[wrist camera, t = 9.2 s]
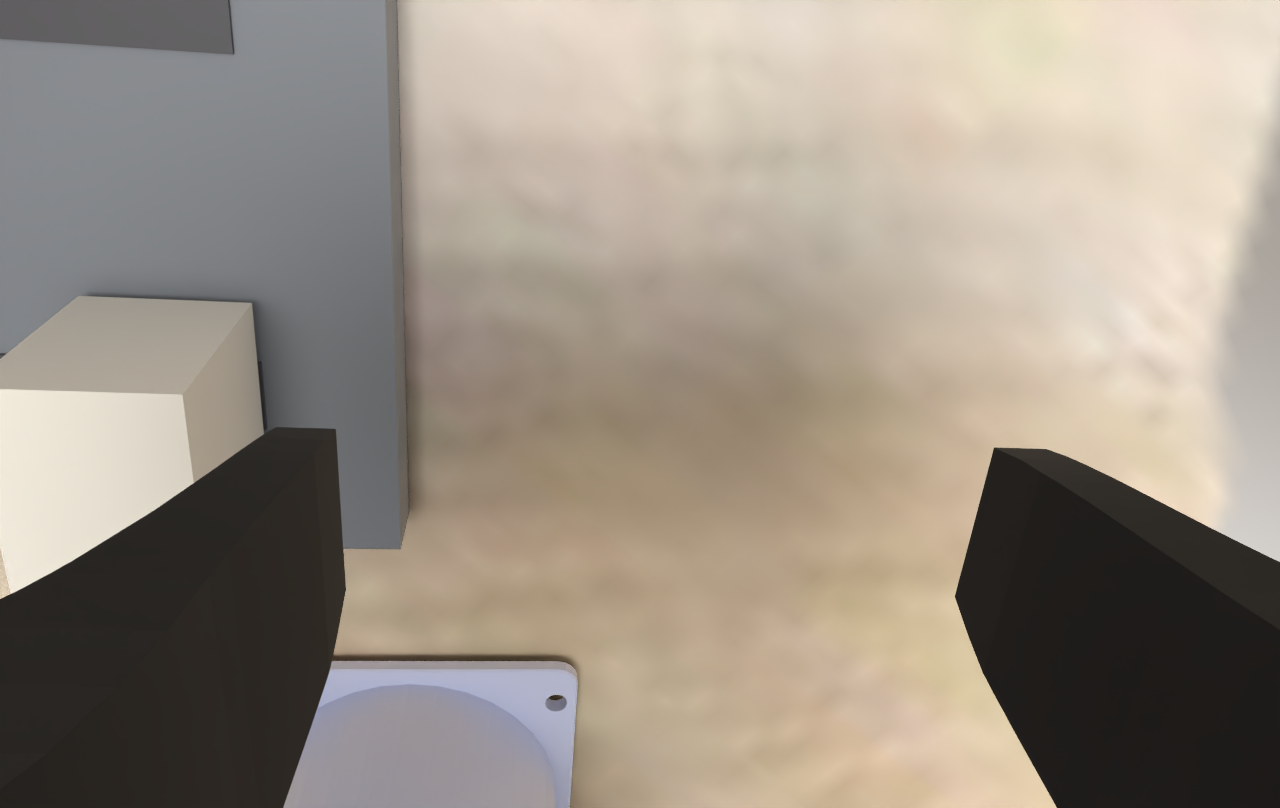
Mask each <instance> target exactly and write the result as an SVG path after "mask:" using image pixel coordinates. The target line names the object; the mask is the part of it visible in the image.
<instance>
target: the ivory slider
mask: <svg viewBox="0 0 1280 808" xmlns="http://www.w3.org/2000/svg"><path fill="white" fill-rule="evenodd" d="M263 434H264V430H263V419H262V408H261V397H260V386H259V375H258V364H257V353H256V342H255V331H254V320H253V309H252V303H243V302H218V301H194V300H169V299H144V298H119V297H95V296H78V297H76V298H75V299H74V300H73V301H71V302H70V303H69V304H68V305H66V306H65V307H64V308H63V309H61V310H60V311H59V312H58V313H56V314H55V315H54V316H53V317H52V318H50V319H49V320H48V321H47V322H45V323H44V324H43V325H42V326H40V327H39V328H38V329H37V330H35V331H34V332H33V333H32V334H30V335H29V336H28V337H27V338H25V339H24V340H23V341H22V342H21V343H19V344H18V345H17V346H16V347H14V348H13V349H12V350H11V351H9V352H8V353H7V354H6V355H4V356H3V357H2V358H1V359H0V549H1V553H2V557H3V562H4V566H5V571H6V575H7V579H8V584H9V588H10V593H11V594H12V593H14V592H16V591H18V590H20V589H22V588H24V587H26V586H27V585H29V584H31V583H33V582H35V581H37V580H39V579H40V578H42V577H44V576H46V575H48V574H50V573H52V572H53V571H55V570H57V569H59V568H60V567H62V566H64V565H66V564H68V563H69V562H71V561H73V560H75V559H76V558H78V557H79V556H81V555H83V554H84V553H86V552H87V551H89V550H91V549H92V548H94V547H96V546H97V545H99V544H100V543H102V542H104V541H105V540H107V539H109V538H110V537H112V536H113V535H115V534H117V533H118V532H120V531H121V530H123V529H125V528H126V527H128V526H130V525H131V524H133V523H134V522H136V521H138V520H139V519H141V518H142V517H144V516H146V515H147V514H149V513H151V512H152V511H154V510H155V509H157V508H158V507H160V506H161V505H163V504H164V503H165V502H167V501H168V500H170V499H171V498H173V497H174V496H176V495H177V494H179V493H180V492H181V491H183V490H184V489H186V488H187V487H189V486H190V485H192V484H193V483H194V482H196V481H197V480H199V479H200V478H202V477H203V476H205V475H206V474H208V473H209V472H210V471H212V470H213V469H215V468H216V467H217V466H219V465H220V464H222V463H223V462H224V461H226V460H227V459H229V458H230V457H232V456H233V455H234V454H236V453H237V452H239V451H240V450H241V449H243V448H244V447H246V446H247V445H249V444H250V443H251V442H253V441H254V440H256V439H257V438H259V437H260V436H262V435H263Z"/></svg>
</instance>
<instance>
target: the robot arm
mask: <svg viewBox="0 0 1280 808" xmlns="http://www.w3.org/2000/svg"><path fill="white" fill-rule="evenodd" d="M345 591H346V586H345V570H344V553H343V537H342V520H341V504H340V487H339V471H338V454H337V438H336V429H327V428H293V427H275V428H273V429H272V430H270V431H268V432H267V433H265V434H263V435H262V436H260V437H259V438H257V439H256V440H254V441H253V442H251V443H250V444H249V445H247V446H246V447H244V448H243V449H241V450H240V451H239V452H237V453H236V454H234V455H233V456H232V457H230V458H229V459H227V460H226V461H224V462H223V463H222V464H220V465H219V466H217V467H216V468H215V469H213V470H212V471H210V472H209V473H208V474H206V475H205V476H203V477H202V478H200V479H199V480H197V481H196V482H194V483H193V484H192V485H190V486H189V487H187V488H186V489H184V490H183V491H181V492H180V493H179V494H177V495H176V496H174V497H173V498H171V499H170V500H168V501H167V502H165V503H164V504H163V505H161V506H160V507H158V508H157V509H155V510H154V511H152V512H151V513H149V514H147V515H146V516H144V517H142V518H141V519H139V520H138V521H136V522H134V523H133V524H131V525H130V526H128V527H126V528H125V529H123V530H121V531H120V532H118V533H117V534H115V535H113V536H112V537H110V538H109V539H107V540H105V541H104V542H102V543H100V544H99V545H97V546H96V547H94V548H92V549H91V550H89V551H87V552H86V553H84V554H83V555H81V556H79V557H78V558H76V559H75V560H73V561H71V562H69V563H68V564H66V565H64V566H62V567H60V568H59V569H57V570H55V571H53V572H52V573H50V574H48V575H46V576H44V577H42V578H40V579H39V580H37V581H35V582H33V583H31V584H29V585H27V586H26V587H24V588H22V589H20V590H18V591H16V592H14V593H12V594H10V595H8V596H6V597H4V598H2V599H0V808H570V797H571V781H572V766H573V750H574V734H575V719H576V703H577V688H578V683H577V674H576V671H575V669H574V668H573V667H572V666H571V665H569V664H567V663H566V662H560V661H332V658H333V653H334V648H335V643H336V638H337V633H338V628H339V623H340V617H341V612H342V607H343V601H344V596H345ZM955 598H956V601H957V604H958V607H959V610H960V613H961V615H962V618H963V621H964V624H965V627H966V630H967V633H968V636H969V639H970V641H971V644H972V646H973V649H974V651H975V654H976V656H977V659H978V661H979V664H980V666H981V669H982V671H983V674H984V676H985V677H986V679H987V681H988V683H989V685H990V687H991V689H992V691H993V693H994V695H995V696H996V698H997V700H998V702H999V704H1000V706H1001V707H1002V709H1003V711H1004V713H1005V715H1006V717H1007V719H1008V720H1009V722H1010V724H1011V726H1012V728H1013V730H1014V731H1015V733H1016V735H1017V737H1018V739H1019V740H1020V742H1021V744H1022V746H1023V748H1024V749H1025V751H1026V753H1027V755H1028V757H1029V758H1030V760H1031V762H1032V764H1033V766H1034V767H1035V769H1036V771H1037V773H1038V774H1039V776H1040V778H1041V780H1042V782H1043V783H1044V785H1045V787H1046V789H1047V791H1048V792H1049V794H1050V796H1051V798H1052V800H1053V801H1054V803H1055V805H1056V807H1057V808H1280V562H1278V561H1276V560H1274V559H1272V558H1270V557H1268V556H1266V555H1263V554H1261V553H1260V552H1258V551H1256V550H1253V549H1251V548H1249V547H1247V546H1245V545H1243V544H1241V543H1239V542H1237V541H1235V540H1233V539H1231V538H1229V537H1227V536H1225V535H1223V534H1221V533H1219V532H1217V531H1215V530H1213V529H1211V528H1209V527H1207V526H1205V525H1204V524H1202V523H1200V522H1198V521H1196V520H1194V519H1192V518H1190V517H1188V516H1186V515H1184V514H1182V513H1180V512H1178V511H1176V510H1174V509H1172V508H1171V507H1169V506H1167V505H1165V504H1163V503H1161V502H1159V501H1157V500H1155V499H1153V498H1151V497H1149V496H1147V495H1145V494H1143V493H1141V492H1139V491H1137V490H1136V489H1134V488H1132V487H1130V486H1128V485H1126V484H1124V483H1122V482H1120V481H1118V480H1116V479H1114V478H1112V477H1110V476H1108V475H1106V474H1104V473H1102V472H1099V471H1097V470H1095V469H1093V468H1091V467H1089V466H1087V465H1085V464H1082V463H1080V462H1078V461H1076V460H1073V459H1071V458H1069V457H1066V456H1064V455H1061V454H1058V453H1055V452H1053V451H1050V450H1047V449H1021V448H994V450H993V454H992V458H991V462H990V466H989V469H988V473H987V477H986V481H985V485H984V488H983V492H982V496H981V500H980V504H979V507H978V511H977V515H976V519H975V523H974V526H973V530H972V534H971V538H970V542H969V545H968V549H967V553H966V557H965V560H964V564H963V568H962V572H961V576H960V579H959V583H958V587H957V591H956V595H955ZM552 695H561V696H563V698H562V699H560V700H551V699H549V697H550V696H552Z"/></svg>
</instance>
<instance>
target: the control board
mask: <svg viewBox="0 0 1280 808" xmlns="http://www.w3.org/2000/svg"><path fill="white" fill-rule="evenodd" d="M78 296H95V297H119V298H144V299H169V300H194V301H218V302H243V303H252V309H253V320H254V331H255V342H256V353H257V364H258V375H259V386H260V397H261V408H262V419H263V430H264V434H265V433H267V432H268V431H270V430H272V429H273V428H275V427H293V428H327V429H336V438H337V454H338V471H339V487H340V504H341V520H342V537H343V548H345V549H401V545H402V541H403V536H404V532H405V527H406V523H407V518H408V514H409V498H408V455H407V413H406V371H405V328H404V286H403V243H402V201H401V159H400V116H399V74H398V31H397V0H0V359H1V358H2V357H3V356H4V355H6V354H7V353H8V352H9V351H11V350H12V349H13V348H14V347H16V346H17V345H18V344H19V343H21V342H22V341H23V340H24V339H25V338H27V337H28V336H29V335H30V334H32V333H33V332H34V331H35V330H37V329H38V328H39V327H40V326H42V325H43V324H44V323H45V322H47V321H48V320H49V319H50V318H52V317H53V316H54V315H55V314H56V313H58V312H59V311H60V310H61V309H63V308H64V307H65V306H66V305H68V304H69V303H70V302H71V301H73V300H74V299H75V298H76V297H78Z"/></svg>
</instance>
